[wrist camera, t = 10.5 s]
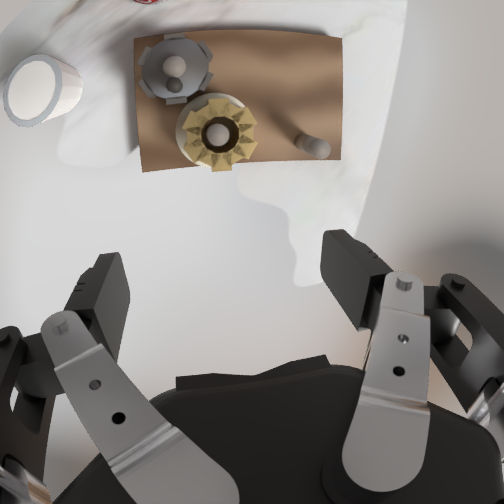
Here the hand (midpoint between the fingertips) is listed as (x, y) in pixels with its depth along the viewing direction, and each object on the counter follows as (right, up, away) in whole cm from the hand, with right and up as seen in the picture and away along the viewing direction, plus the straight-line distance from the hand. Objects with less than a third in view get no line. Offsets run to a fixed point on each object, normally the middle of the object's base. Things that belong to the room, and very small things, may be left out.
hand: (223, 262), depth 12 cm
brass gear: (-2, +12, +16) cm, 20 cm away
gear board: (0, +17, +17) cm, 23 cm away
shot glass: (-19, +18, +12) cm, 29 cm away
